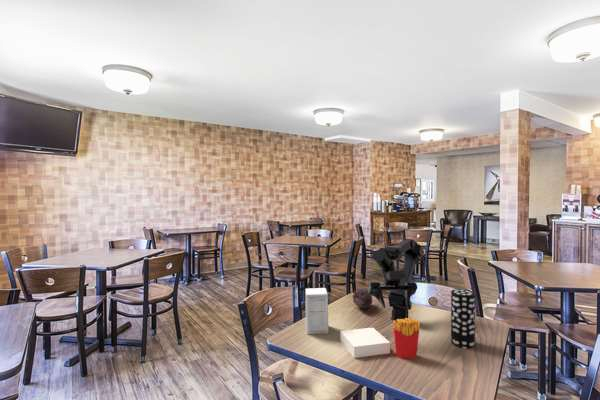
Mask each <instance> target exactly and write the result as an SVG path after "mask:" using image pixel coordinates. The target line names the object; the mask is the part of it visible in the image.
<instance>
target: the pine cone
mask: <svg viewBox="0 0 600 400" xmlns="http://www.w3.org/2000/svg"><path fill="white" fill-rule="evenodd" d="M352 299H353V303H354V304H355V305H356V306H357V307H359V308H361V309H366V308H367V309H369V308H370V307H371V305H372V304H373V296H372V295H370V294H369V291H368V289H365V288H357V289H356V290H354V292H353V294H352Z"/></svg>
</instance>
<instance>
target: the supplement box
mask: <svg viewBox="0 0 600 400" xmlns="http://www.w3.org/2000/svg"><path fill="white" fill-rule="evenodd" d="M304 295H305V331H306V334H307V335H318V334H319V335H320V334H323V335H324V334H329V301H328V300H329V298H328V297H329V295H328V291H327V288H326V287H318V288H317V287H316V288H305V294H304Z"/></svg>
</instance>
